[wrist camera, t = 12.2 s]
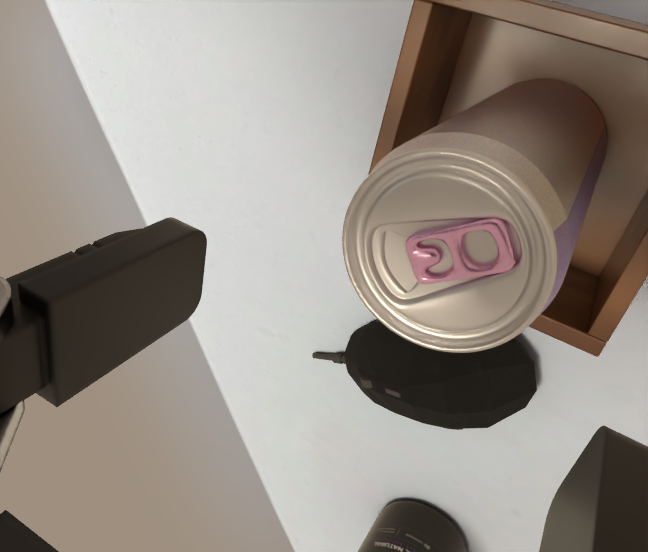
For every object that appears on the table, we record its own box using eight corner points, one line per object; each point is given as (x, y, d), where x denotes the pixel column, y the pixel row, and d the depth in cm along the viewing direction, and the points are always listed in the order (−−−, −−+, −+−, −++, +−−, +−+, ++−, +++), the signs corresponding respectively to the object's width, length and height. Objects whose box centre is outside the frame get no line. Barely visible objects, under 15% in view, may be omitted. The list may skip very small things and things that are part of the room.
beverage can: (620, 188, 25) (590, 351, 13) (491, 216, 29) (374, 367, 17) (591, 56, 24) (527, 106, 12) (458, 102, 27) (305, 177, 15)
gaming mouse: (304, 313, 38) (272, 341, 35) (532, 316, 30) (518, 352, 27) (325, 392, 40) (296, 425, 37) (543, 414, 32) (531, 458, 29)
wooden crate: (468, -20, 25) (420, -27, 20) (747, 50, 22) (776, 63, 16) (399, 207, 31) (348, 246, 26) (608, 291, 28) (598, 358, 23)
